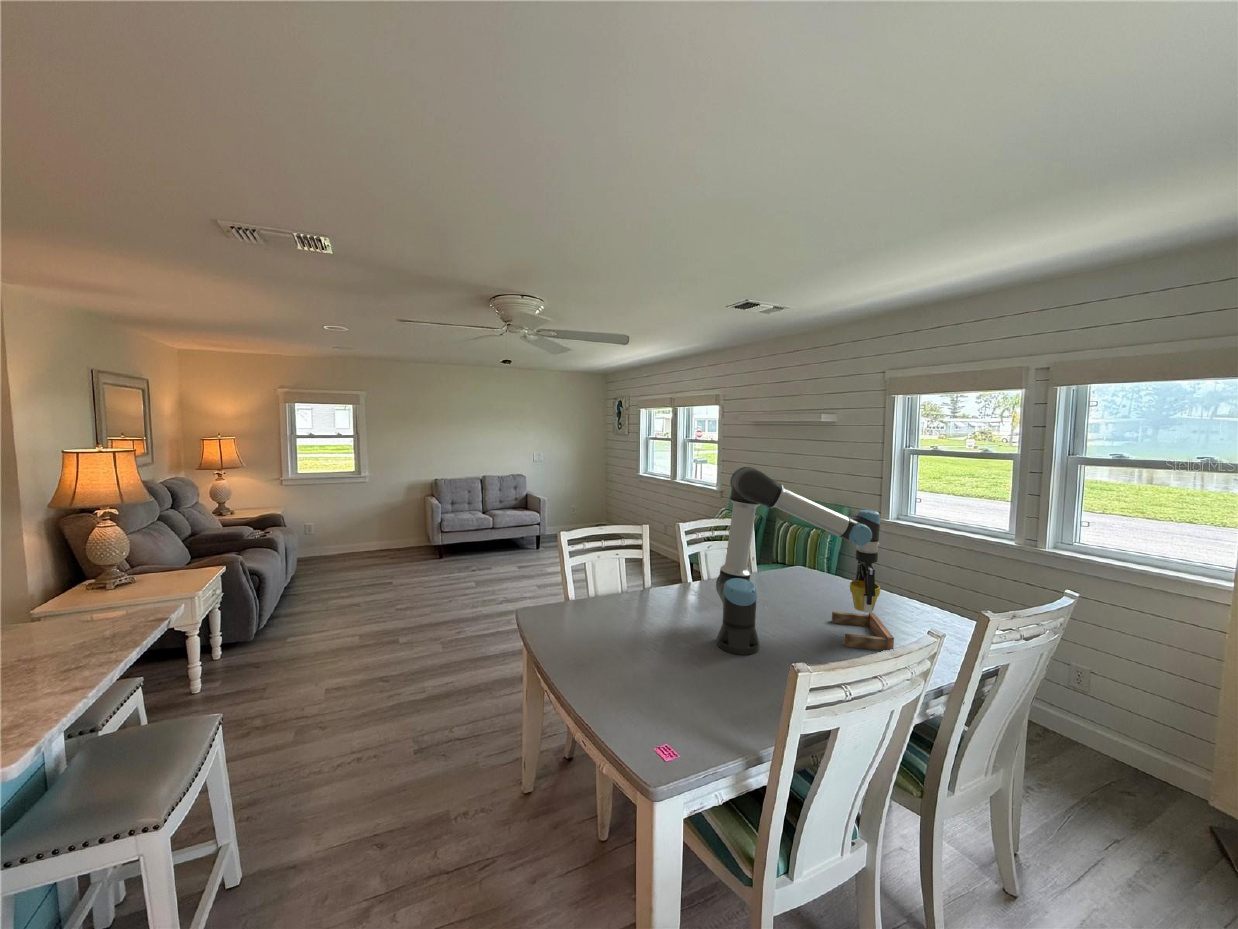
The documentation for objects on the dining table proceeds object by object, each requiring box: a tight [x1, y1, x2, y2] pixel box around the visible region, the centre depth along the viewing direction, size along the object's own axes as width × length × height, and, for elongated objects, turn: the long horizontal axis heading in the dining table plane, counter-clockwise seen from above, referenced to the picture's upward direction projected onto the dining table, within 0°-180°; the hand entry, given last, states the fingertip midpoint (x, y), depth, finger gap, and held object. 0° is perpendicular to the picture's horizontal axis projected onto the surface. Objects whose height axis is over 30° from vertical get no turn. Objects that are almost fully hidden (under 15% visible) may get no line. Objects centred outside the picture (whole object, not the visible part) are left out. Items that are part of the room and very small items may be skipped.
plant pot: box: [849, 580, 881, 613], centre depth 190 cm, size 10×10×10 cm
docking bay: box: [831, 611, 895, 651], centre depth 191 cm, size 16×24×5 cm, turn 168°
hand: (863, 607), depth 190 cm, fingers closed on plant pot, 10 cm apart
